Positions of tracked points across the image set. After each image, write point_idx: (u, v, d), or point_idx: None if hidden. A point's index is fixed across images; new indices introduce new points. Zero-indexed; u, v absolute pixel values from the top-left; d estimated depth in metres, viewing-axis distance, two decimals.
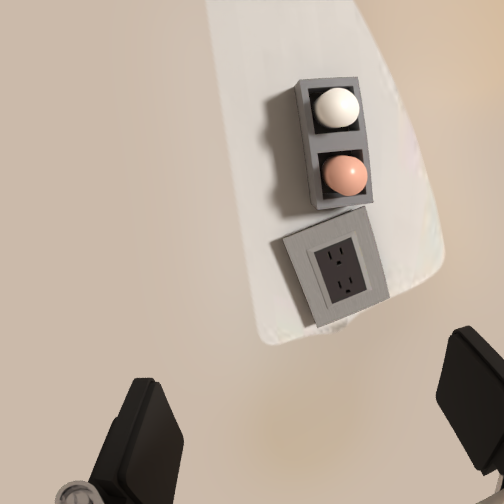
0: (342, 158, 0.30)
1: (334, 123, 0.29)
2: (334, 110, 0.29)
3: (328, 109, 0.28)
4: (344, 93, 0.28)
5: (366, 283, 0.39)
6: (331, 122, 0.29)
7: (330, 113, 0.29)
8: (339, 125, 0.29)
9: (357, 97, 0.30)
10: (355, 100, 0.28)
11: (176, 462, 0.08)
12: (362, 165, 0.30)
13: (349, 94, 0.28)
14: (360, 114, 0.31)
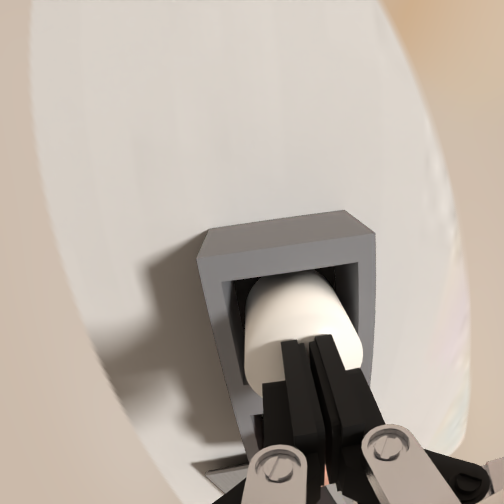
0: None
1: None
2: None
3: (268, 374, 0.10)
4: (323, 329, 0.10)
5: (337, 501, 0.21)
6: None
7: None
8: None
9: (365, 293, 0.12)
10: (355, 343, 0.10)
11: None
12: None
13: (339, 330, 0.10)
14: (365, 334, 0.12)
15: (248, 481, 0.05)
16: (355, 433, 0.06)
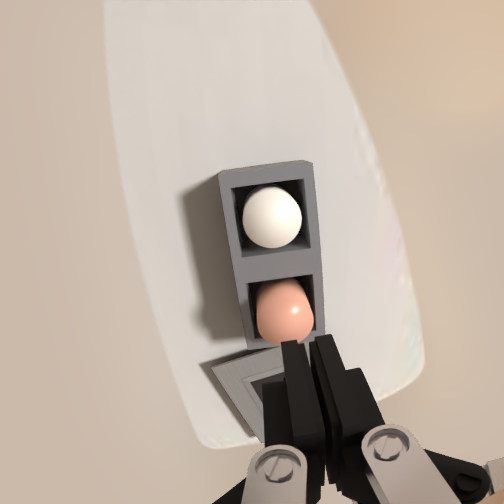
0: (276, 301, 0.22)
1: (263, 244, 0.22)
2: (263, 224, 0.22)
3: (254, 224, 0.22)
4: (279, 198, 0.21)
5: None
6: (258, 243, 0.22)
7: (257, 230, 0.22)
8: (270, 246, 0.23)
9: (309, 197, 0.22)
10: (296, 208, 0.22)
11: None
12: (306, 308, 0.22)
13: (287, 199, 0.21)
14: (313, 223, 0.22)
15: (248, 481, 0.05)
16: (355, 433, 0.06)
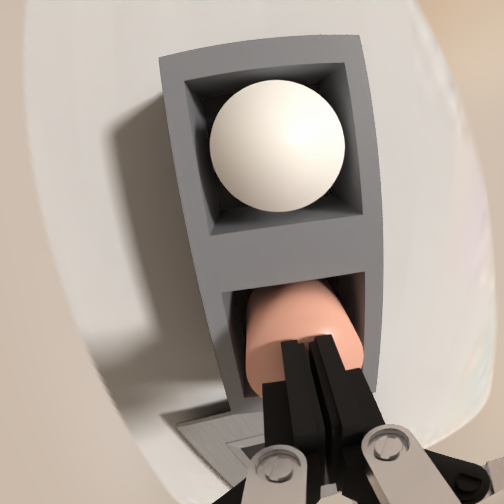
0: (287, 323, 0.10)
1: (258, 202, 0.10)
2: (258, 156, 0.09)
3: (237, 156, 0.09)
4: (294, 97, 0.09)
5: None
6: (247, 200, 0.10)
7: (244, 169, 0.09)
8: (275, 208, 0.10)
9: (359, 101, 0.09)
10: (332, 120, 0.09)
11: None
12: (351, 337, 0.10)
13: (312, 100, 0.09)
14: (367, 160, 0.10)
15: (248, 481, 0.05)
16: (355, 433, 0.06)
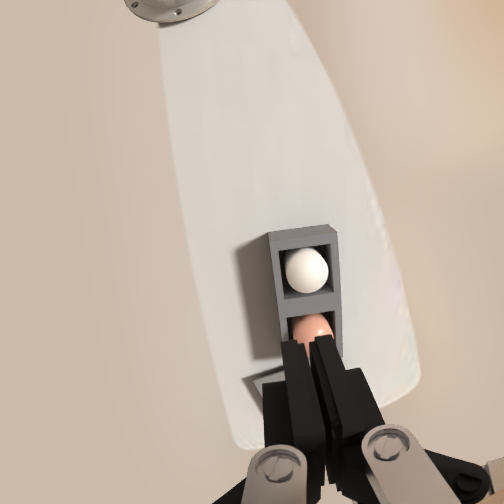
0: (308, 326, 0.31)
1: (300, 290, 0.31)
2: (301, 277, 0.30)
3: (295, 276, 0.30)
4: (313, 258, 0.30)
5: None
6: (297, 289, 0.31)
7: (297, 280, 0.31)
8: (305, 291, 0.31)
9: (334, 256, 0.30)
10: (324, 265, 0.30)
11: None
12: (329, 330, 0.31)
13: (318, 259, 0.30)
14: (336, 275, 0.31)
15: (248, 481, 0.05)
16: (355, 433, 0.06)
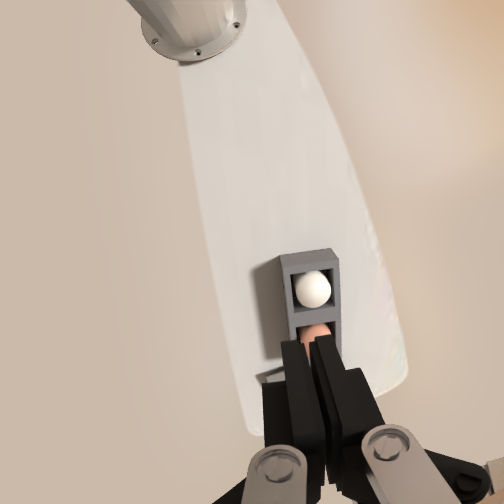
0: (313, 334, 0.37)
1: (307, 305, 0.37)
2: (308, 295, 0.37)
3: (303, 295, 0.37)
4: (318, 280, 0.36)
5: None
6: (305, 305, 0.37)
7: (305, 298, 0.37)
8: (312, 306, 0.37)
9: (336, 278, 0.36)
10: (328, 285, 0.36)
11: None
12: None
13: (323, 281, 0.36)
14: (337, 293, 0.37)
15: (248, 481, 0.05)
16: (355, 433, 0.06)
